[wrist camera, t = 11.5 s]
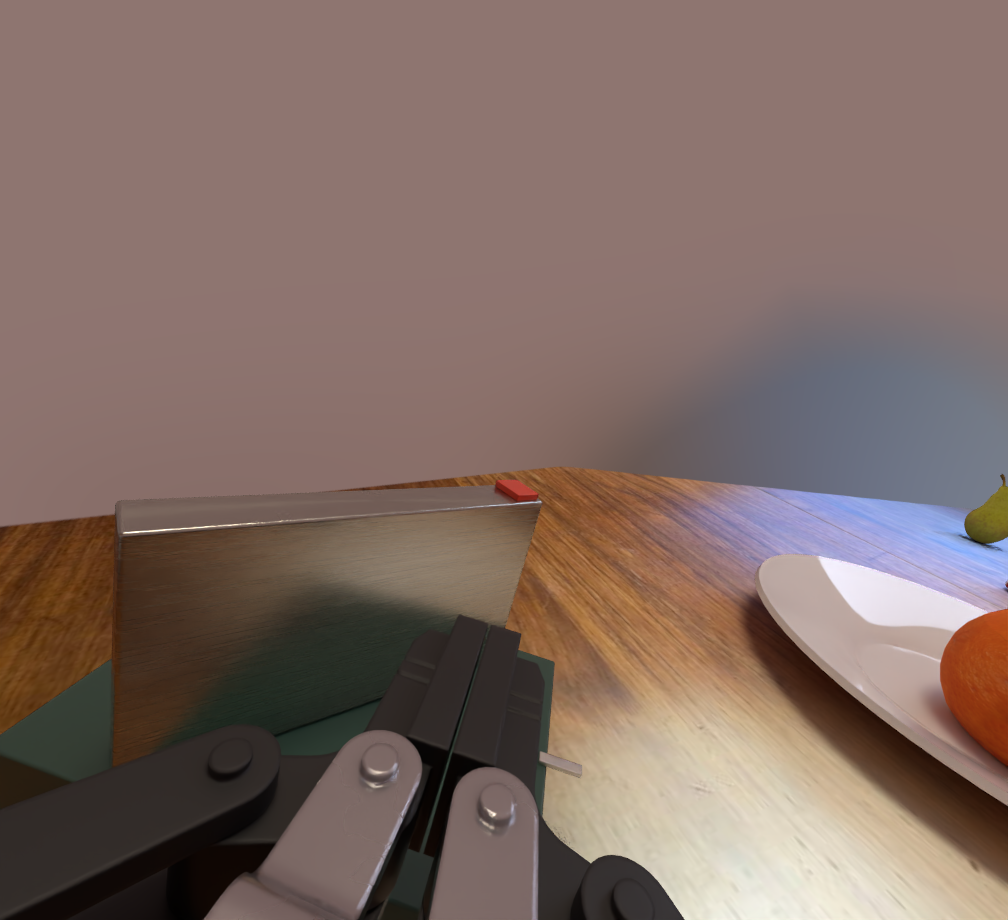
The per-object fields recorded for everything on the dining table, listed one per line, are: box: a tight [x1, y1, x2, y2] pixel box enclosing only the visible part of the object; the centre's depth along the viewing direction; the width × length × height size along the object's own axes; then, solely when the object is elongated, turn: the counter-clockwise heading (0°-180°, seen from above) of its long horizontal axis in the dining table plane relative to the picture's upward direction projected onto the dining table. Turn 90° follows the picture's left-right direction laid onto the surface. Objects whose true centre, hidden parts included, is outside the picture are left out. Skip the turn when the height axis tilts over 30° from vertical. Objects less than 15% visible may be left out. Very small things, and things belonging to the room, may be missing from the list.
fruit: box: [964, 474, 1008, 544], centre depth 81 cm, size 6×6×12 cm
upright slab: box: [110, 480, 542, 768], centre depth 15 cm, size 12×2×7 cm, turn 129°
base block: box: [0, 650, 582, 920], centre depth 16 cm, size 16×16×3 cm
